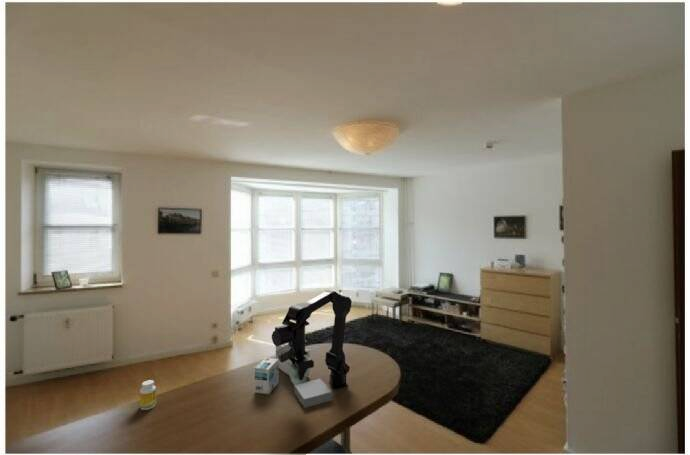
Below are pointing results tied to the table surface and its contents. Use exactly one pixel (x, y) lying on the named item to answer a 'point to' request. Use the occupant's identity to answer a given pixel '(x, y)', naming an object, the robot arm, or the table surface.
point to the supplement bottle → (147, 395)
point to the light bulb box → (266, 375)
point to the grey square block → (313, 393)
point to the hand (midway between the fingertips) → (298, 377)
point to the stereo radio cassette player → (289, 361)
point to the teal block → (296, 376)
